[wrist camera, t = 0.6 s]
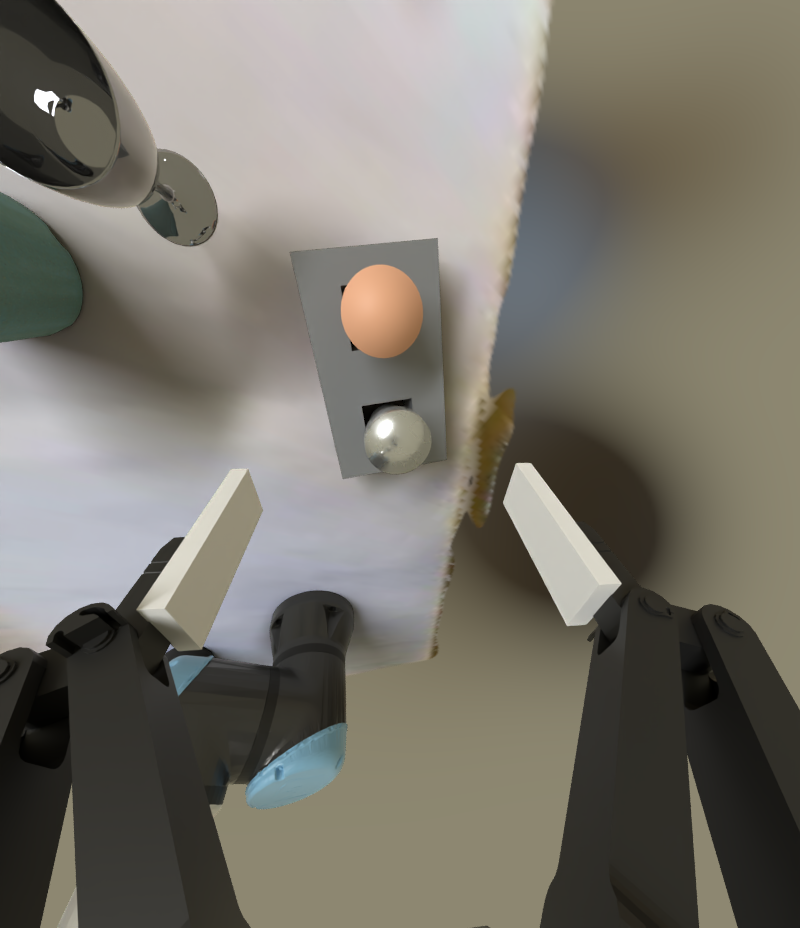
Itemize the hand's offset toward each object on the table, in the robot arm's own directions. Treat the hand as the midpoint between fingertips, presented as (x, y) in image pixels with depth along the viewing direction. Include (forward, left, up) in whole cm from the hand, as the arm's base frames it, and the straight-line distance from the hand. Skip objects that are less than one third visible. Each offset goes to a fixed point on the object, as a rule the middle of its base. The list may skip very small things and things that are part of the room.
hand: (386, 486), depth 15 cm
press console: (+2, -3, -27) cm, 27 cm away
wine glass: (+20, +14, -27) cm, 36 cm away
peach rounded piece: (+8, -3, -22) cm, 23 cm away
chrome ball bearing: (-4, -3, -22) cm, 22 cm away
